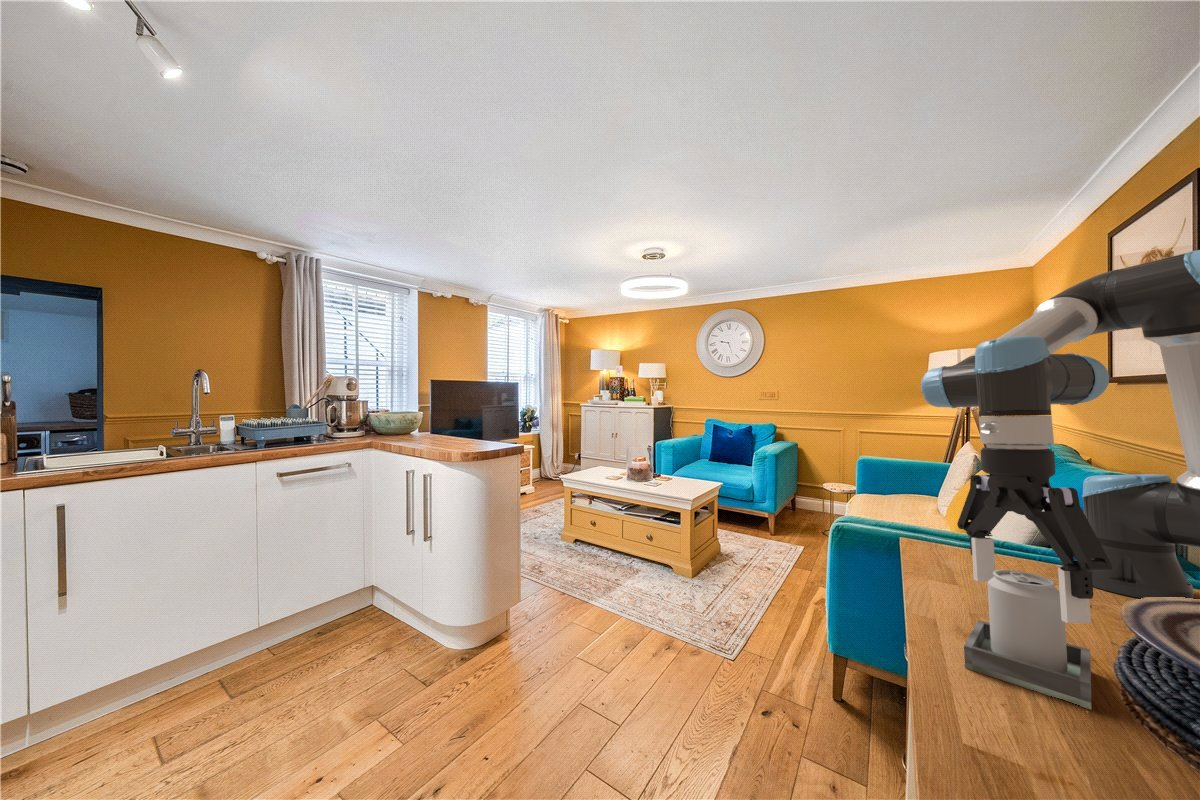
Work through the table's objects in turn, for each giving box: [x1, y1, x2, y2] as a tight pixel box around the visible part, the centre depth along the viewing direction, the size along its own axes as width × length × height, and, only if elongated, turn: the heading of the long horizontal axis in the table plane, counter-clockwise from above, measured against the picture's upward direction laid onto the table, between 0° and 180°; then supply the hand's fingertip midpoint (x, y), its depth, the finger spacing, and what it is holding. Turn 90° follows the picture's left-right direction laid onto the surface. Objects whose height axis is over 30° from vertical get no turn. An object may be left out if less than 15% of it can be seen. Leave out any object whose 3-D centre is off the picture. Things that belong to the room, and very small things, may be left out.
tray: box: [963, 619, 1092, 711], centre depth 59 cm, size 12×12×3 cm
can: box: [987, 569, 1068, 673], centre depth 59 cm, size 8×8×12 cm
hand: (1025, 599), depth 60 cm, fingers open, 13 cm apart
